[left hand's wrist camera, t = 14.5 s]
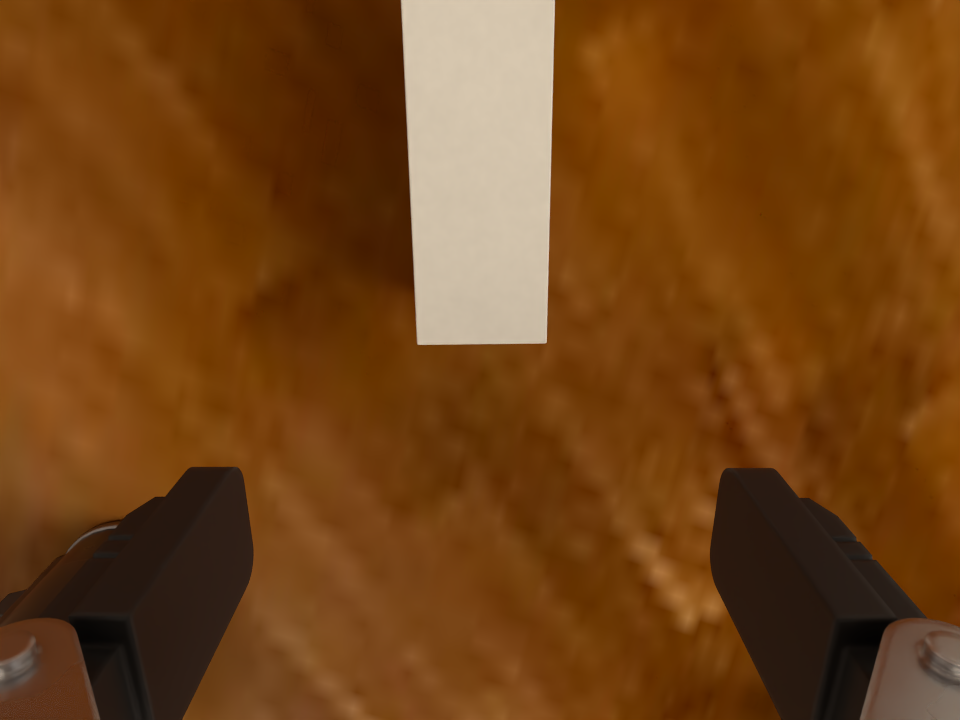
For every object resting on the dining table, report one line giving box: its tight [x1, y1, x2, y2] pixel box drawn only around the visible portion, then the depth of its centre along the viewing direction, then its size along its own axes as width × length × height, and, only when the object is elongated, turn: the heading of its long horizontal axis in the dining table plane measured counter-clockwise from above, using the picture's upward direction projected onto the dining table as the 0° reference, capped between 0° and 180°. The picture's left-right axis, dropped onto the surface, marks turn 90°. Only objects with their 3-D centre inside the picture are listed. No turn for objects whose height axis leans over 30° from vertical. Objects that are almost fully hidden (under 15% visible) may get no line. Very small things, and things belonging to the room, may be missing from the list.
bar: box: [401, 0, 555, 345], centre depth 30 cm, size 27×6×9 cm, turn 1°
